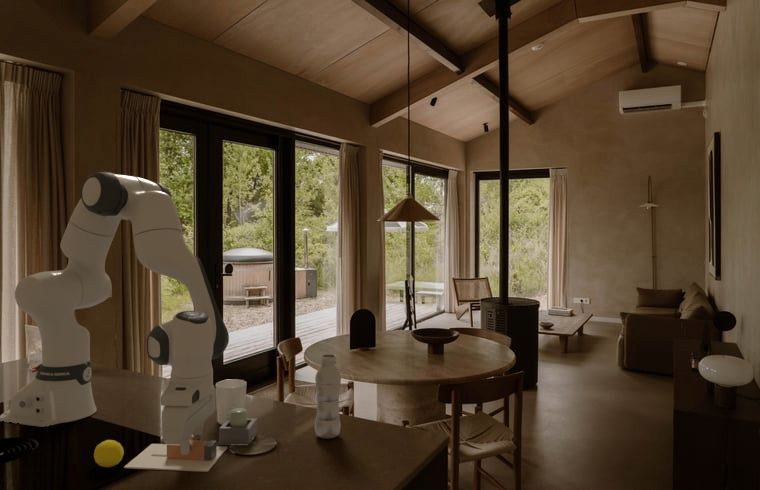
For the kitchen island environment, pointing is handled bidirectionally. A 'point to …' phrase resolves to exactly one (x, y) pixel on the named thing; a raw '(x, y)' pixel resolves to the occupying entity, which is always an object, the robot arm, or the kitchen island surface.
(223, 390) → the white cup
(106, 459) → the lemon
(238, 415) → the button
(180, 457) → the block
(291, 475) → the kitchen island surface
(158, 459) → the paper
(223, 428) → the button housing
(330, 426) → the plastic bottle
